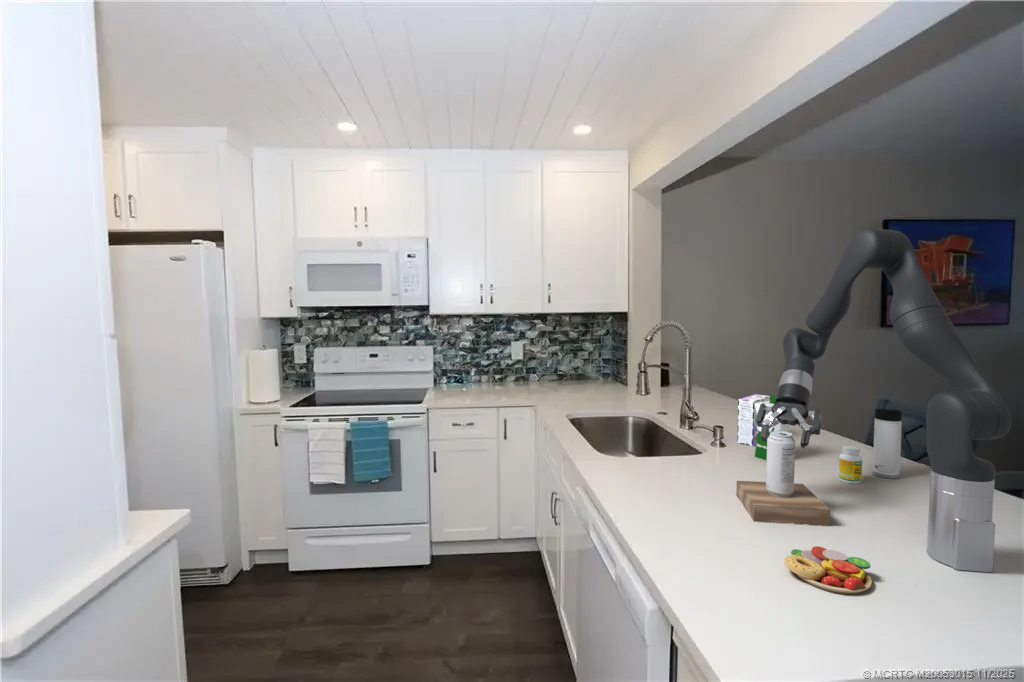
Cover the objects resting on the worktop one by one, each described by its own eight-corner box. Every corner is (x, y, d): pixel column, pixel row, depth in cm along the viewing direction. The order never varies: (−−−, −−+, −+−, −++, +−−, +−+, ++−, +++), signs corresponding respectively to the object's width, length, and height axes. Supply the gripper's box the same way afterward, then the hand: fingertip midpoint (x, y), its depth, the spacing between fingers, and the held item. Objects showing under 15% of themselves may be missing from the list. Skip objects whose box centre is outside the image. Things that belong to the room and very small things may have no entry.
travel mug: (874, 477, 143) (877, 409, 141) (870, 470, 148) (873, 404, 147) (901, 481, 140) (904, 411, 138) (896, 473, 146) (899, 406, 144)
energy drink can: (777, 487, 126) (779, 429, 125) (799, 495, 120) (801, 435, 119) (760, 490, 124) (761, 431, 122) (781, 499, 118) (783, 438, 117)
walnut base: (829, 526, 113) (830, 509, 112) (753, 521, 116) (754, 504, 115) (802, 498, 128) (802, 483, 128) (736, 495, 131) (736, 480, 131)
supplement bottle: (844, 476, 144) (845, 443, 143) (865, 481, 140) (866, 448, 139) (835, 480, 141) (836, 447, 141) (856, 485, 137) (857, 451, 136)
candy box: (754, 436, 188) (754, 393, 187) (770, 439, 184) (771, 395, 182) (736, 443, 179) (737, 398, 178) (752, 446, 175) (753, 400, 174)
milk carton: (793, 459, 160) (794, 398, 158) (773, 463, 156) (775, 401, 155) (768, 452, 168) (770, 394, 166) (749, 456, 164) (751, 396, 163)
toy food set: (777, 576, 93) (777, 560, 93) (799, 551, 102) (799, 536, 102) (863, 607, 83) (863, 588, 83) (878, 576, 93) (879, 559, 92)
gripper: (762, 379, 133) (749, 430, 125) (824, 384, 124) (814, 439, 116) (767, 396, 137) (754, 446, 129) (827, 402, 128) (818, 456, 120)
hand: (783, 443), depth 123 cm, fingers open, 8 cm apart
